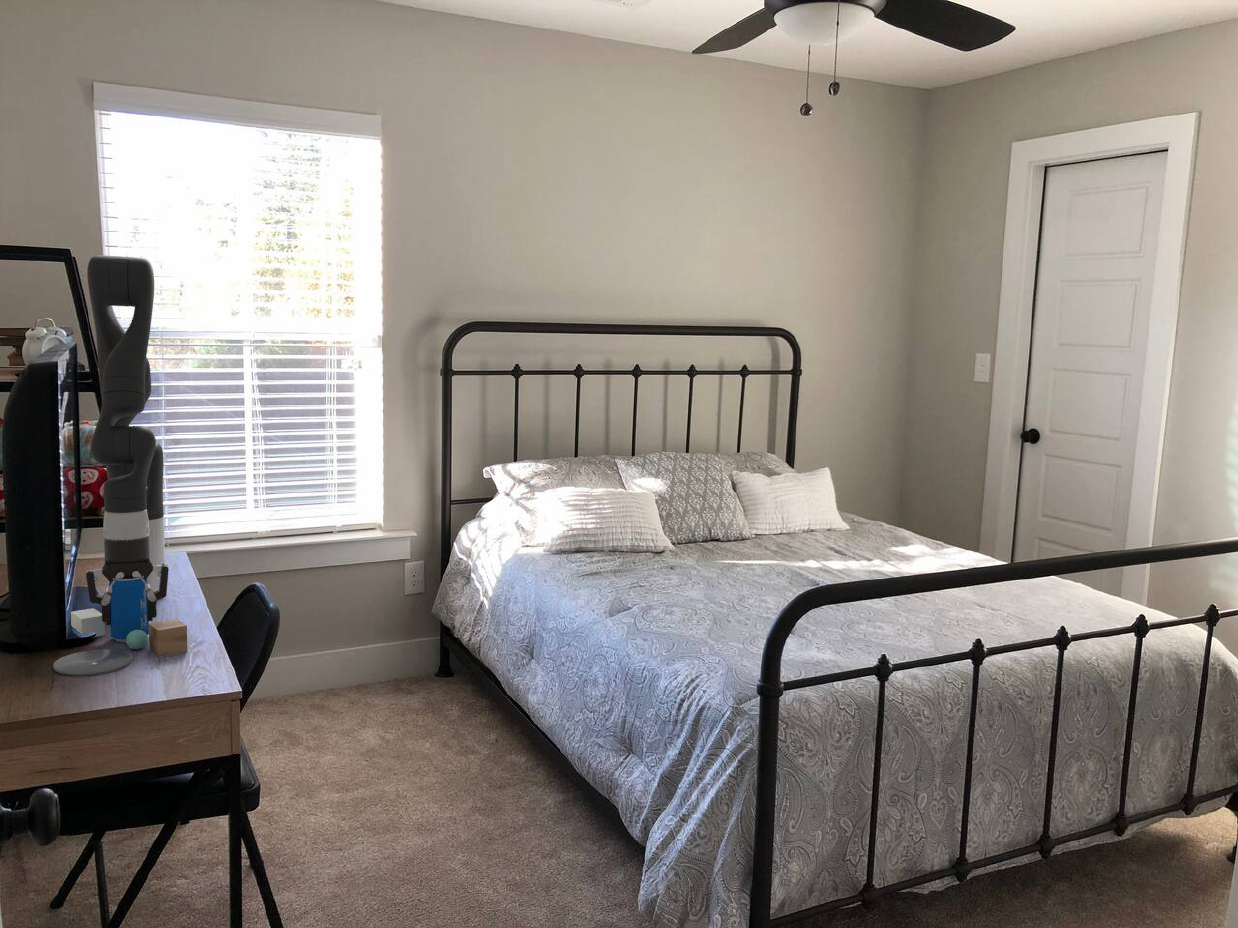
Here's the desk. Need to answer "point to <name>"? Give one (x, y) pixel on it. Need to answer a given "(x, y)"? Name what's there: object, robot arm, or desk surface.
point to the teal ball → (136, 639)
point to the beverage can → (128, 608)
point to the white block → (88, 621)
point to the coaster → (92, 662)
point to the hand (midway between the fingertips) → (129, 621)
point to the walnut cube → (168, 637)
